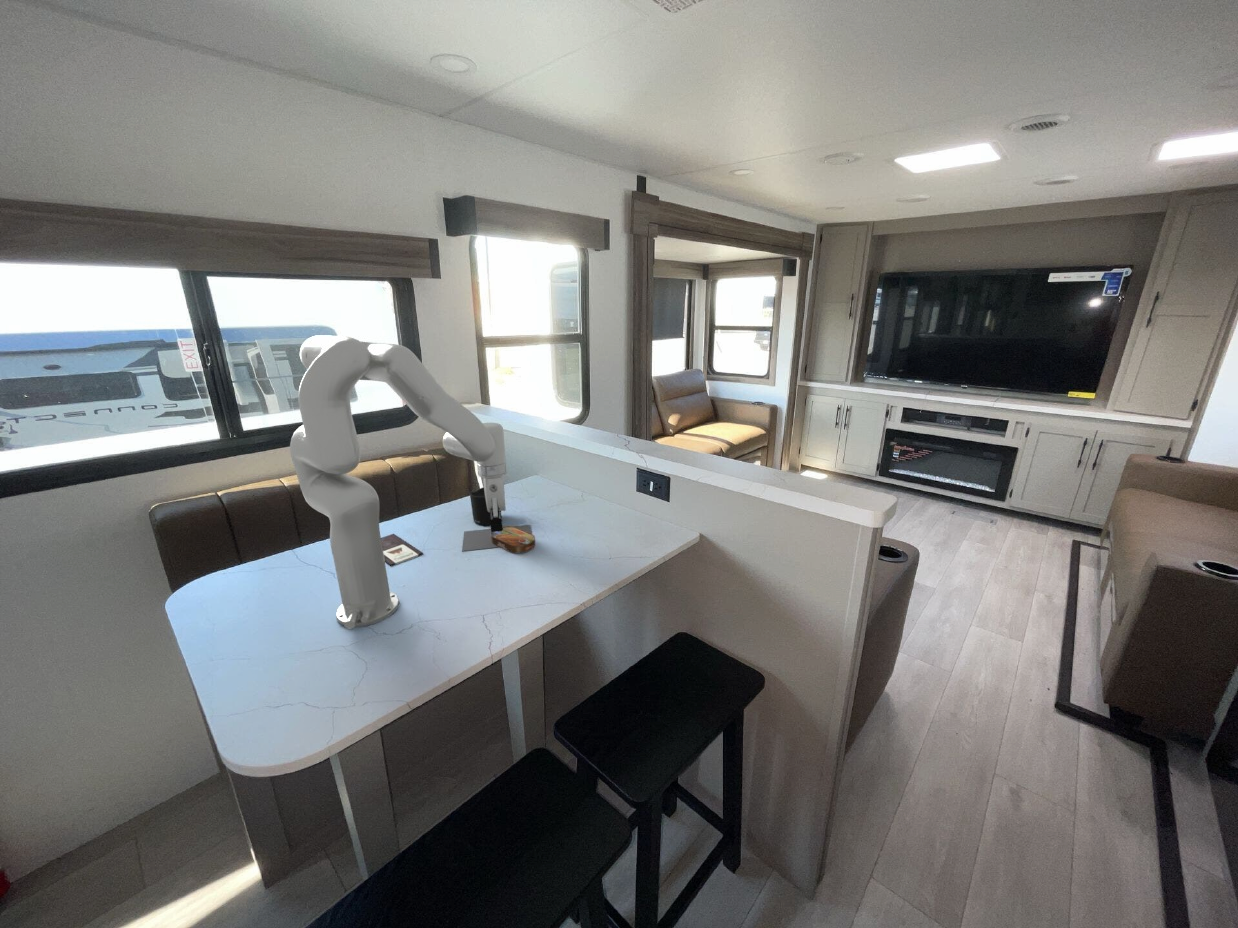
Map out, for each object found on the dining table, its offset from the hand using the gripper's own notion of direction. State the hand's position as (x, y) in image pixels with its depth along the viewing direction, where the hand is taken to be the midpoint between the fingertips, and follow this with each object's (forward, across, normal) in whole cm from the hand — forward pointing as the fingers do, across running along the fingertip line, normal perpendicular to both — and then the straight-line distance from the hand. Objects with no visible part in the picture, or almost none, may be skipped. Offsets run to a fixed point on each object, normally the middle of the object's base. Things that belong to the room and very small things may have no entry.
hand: (496, 530), depth 136 cm
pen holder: (+6, +20, +3) cm, 21 cm away
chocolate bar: (+6, +6, +29) cm, 30 cm away
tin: (+4, -1, -1) cm, 5 cm away
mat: (+6, +7, 0) cm, 9 cm away
